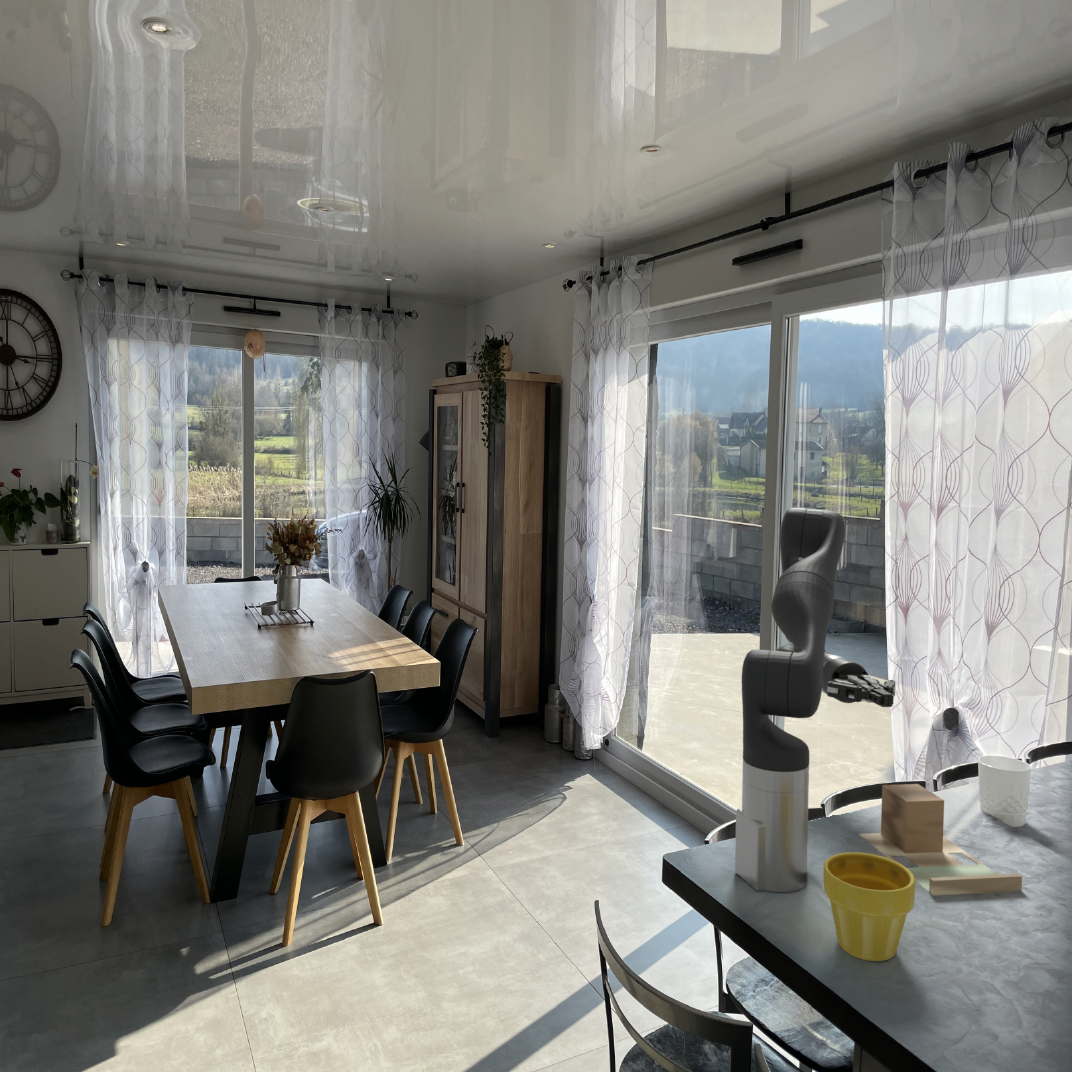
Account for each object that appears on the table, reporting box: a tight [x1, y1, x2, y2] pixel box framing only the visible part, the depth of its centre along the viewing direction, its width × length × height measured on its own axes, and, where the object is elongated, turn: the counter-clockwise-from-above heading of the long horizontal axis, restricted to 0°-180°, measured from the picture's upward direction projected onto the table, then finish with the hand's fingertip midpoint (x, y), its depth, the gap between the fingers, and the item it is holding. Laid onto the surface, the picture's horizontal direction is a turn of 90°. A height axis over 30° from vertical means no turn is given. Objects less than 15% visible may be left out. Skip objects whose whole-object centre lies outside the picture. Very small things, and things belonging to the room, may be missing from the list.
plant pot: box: [822, 851, 916, 962], centre depth 100 cm, size 10×10×10 cm
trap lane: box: [858, 832, 1023, 897], centre depth 120 cm, size 20×13×4 cm, turn 6°
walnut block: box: [880, 783, 945, 854], centre depth 126 cm, size 7×6×8 cm
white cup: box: [977, 755, 1032, 828], centre depth 139 cm, size 8×8×10 cm
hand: (888, 701), depth 133 cm, fingers closed
